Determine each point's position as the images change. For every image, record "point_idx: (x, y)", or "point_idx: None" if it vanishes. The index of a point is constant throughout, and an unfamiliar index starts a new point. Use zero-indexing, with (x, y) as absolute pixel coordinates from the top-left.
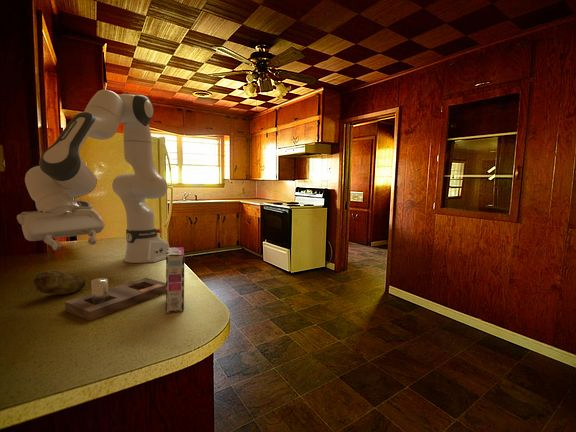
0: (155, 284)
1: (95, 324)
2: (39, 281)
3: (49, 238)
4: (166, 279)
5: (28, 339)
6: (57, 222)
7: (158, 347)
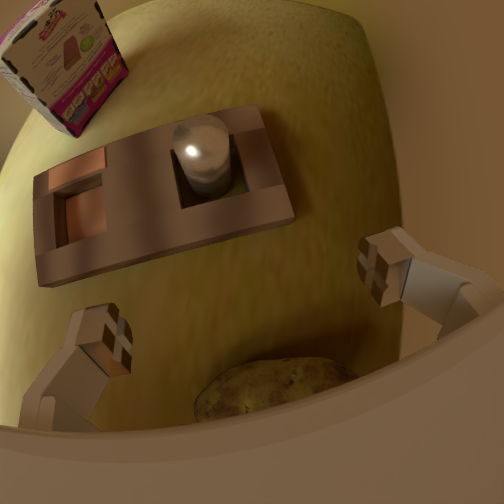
0: (51, 197)
1: (251, 97)
2: (353, 373)
3: (467, 270)
4: (105, 20)
5: (361, 120)
6: (492, 488)
7: (207, 7)
